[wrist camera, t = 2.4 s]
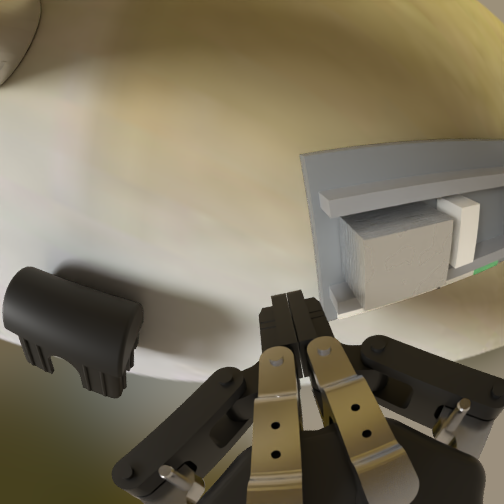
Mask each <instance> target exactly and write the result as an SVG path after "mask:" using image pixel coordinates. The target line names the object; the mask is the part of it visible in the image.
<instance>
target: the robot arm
mask: <svg viewBox="0 0 504 504" xmlns="http://www.w3.org/2000/svg"><path fill="white" fill-rule="evenodd" d="M40 14H41V5H40V1H39V0H0V85H1V84H2V83H3V82H4V81H5V80H6V79H7V78H8V77H9V76H10V75H11V74H12V72H13V71H14V70H15V69H16V67H17V66H18V64H19V63H20V61H21V60H22V58H23V57H24V55H25V53H26V51H27V49H28V47H29V46H30V44H31V41H32V39H33V37H34V35H35V32H36V29H37V26H38V23H39V19H40ZM287 298H288V301H287ZM271 299H272V305H273V306H271V307H266V308H262V310H261V312H260V314H259V323H260V334H261V345H262V355H261V356H260V359H259V361H258V362H257V363H256V364H255V365H254V366H252V367H250V368H248V369H245V370H243V371H240V370H239V369H237V368H235V367H225V368H221V369H219V370H217V371H216V372H214V373H213V374H212V375H211V376H210V377H209V378H208V379H207V380H206V381H205V382H204V383H203V384H202V385H201V386H200V387H199V388H198V389H197V390H196V391H195V392H194V393H193V394H192V395H191V396H190V397H189V398H188V399H187V400H186V401H185V402H184V403H183V404H182V405H181V406H180V407H179V408H177V410H175V411H174V412H173V413H172V414H171V415H170V416H169V417H168V418H167V419H166V420H165V421H164V422H163V423H161V424H160V425H159V426H158V427H157V428H156V429H155V430H154V431H153V432H151V433H150V434H149V435H148V436H147V437H146V438H145V439H144V440H143V441H142V442H140V443H139V444H138V445H137V446H136V447H135V448H133V449H132V450H131V451H130V452H129V453H128V454H126V455H125V456H124V457H123V458H122V459H121V460H119V461H118V462H117V463H116V464H115V466H114V467H113V470H112V479H113V481H114V483H115V484H116V485H117V486H118V487H120V488H121V489H123V490H125V491H127V492H128V493H130V494H131V495H133V496H135V497H136V498H138V499H140V500H141V501H142V502H143V503H144V504H483V494H484V488H485V482H486V479H485V478H486V476H485V471H484V468H483V466H482V464H481V463H480V461H479V460H478V459H479V457H480V454H481V452H482V450H483V448H484V445H485V443H486V440H487V438H488V435H489V433H490V430H491V428H492V425H493V422H494V420H495V419H496V418H497V416H498V415H499V414H500V413H501V411H502V410H503V409H504V379H502V378H499V377H496V376H493V375H490V374H487V373H484V372H481V371H478V370H476V369H472V368H470V367H467V366H464V365H461V364H459V363H456V362H453V361H450V360H448V359H445V358H442V357H439V356H437V355H434V354H431V353H429V352H426V351H423V350H421V349H418V348H415V347H413V346H410V345H407V344H405V343H402V342H399V341H397V340H394V339H392V338H389V337H387V336H383V335H374V336H371V337H369V338H367V339H366V340H365V341H364V342H363V343H362V345H345V344H342V343H340V342H339V341H338V340H337V339H336V338H335V337H334V335H333V333H332V330H331V328H330V325H329V323H328V320H327V318H326V316H325V313H324V311H323V308H322V306H321V303H320V302H319V301H318V300H316V299H315V298H314V297H312V298H308V299H304V297H303V294H302V291H301V290H297V291H293V292H288V293H287V297H286V293H284V294H279V295H274V296H271ZM288 304H289V305H288ZM300 360H301V361H300ZM301 364H302V368H301ZM302 369H303V373H304V377H308V376H309V377H310V381H311V388H312V392H313V395H314V398H315V401H316V404H317V407H318V410H319V413H320V416H321V419H322V422H323V426H324V428H322V429H320V430H315V431H304V430H303V418H302V407H301V397H300V389H301V386H300V380H299V378H303V374H302ZM378 404H379V405H381V406H383V407H385V408H387V409H389V410H391V411H393V412H395V413H398V414H400V415H402V416H404V417H406V418H408V419H411V420H413V421H415V422H417V423H420V424H422V425H424V426H427V427H429V428H431V429H432V433H433V436H434V438H435V439H433V438H431V437H429V436H427V435H425V434H423V433H421V432H419V431H417V430H415V429H413V428H411V427H409V426H407V425H405V424H403V423H401V422H399V421H397V420H394V419H391V418H386V417H384V415H383V413H382V411H381V409H380V407H379V405H378ZM252 423H253V437H252V438H253V439H252V446H250V447H249V448H247V449H246V450H244V451H243V452H242V453H241V454H240V455H239V456H238V457H237V458H236V459H235V460H234V461H233V462H232V464H231V465H230V466H229V468H227V470H226V471H225V472H224V473H223V474H222V475H221V477H220V478H219V479H218V480H217V481H216V482H215V483H214V485H213V486H212V487H211V488H210V489H209V490H208V491H207V492H206V493H205V494H204V495H203V496H202V498H201V499H200V500H199V498H200V497H201V495H202V494H203V492H204V490H205V483H204V480H203V478H204V477H205V475H206V474H207V473H208V472H209V471H210V470H211V469H212V468H213V467H214V466H215V465H216V464H217V463H218V462H219V461H220V460H221V459H222V458H223V457H224V456H225V454H226V453H227V452H228V451H229V450H230V449H231V448H232V447H233V445H234V444H235V443H236V442H237V441H238V440H239V439H240V438H241V436H242V435H243V434H244V433H245V432H246V431H247V429H248V428H249V427H250V426H251V424H252ZM198 500H199V501H198Z"/></svg>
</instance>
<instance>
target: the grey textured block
mask: <svg viewBox="0 0 504 504" xmlns="http://www.w3.org/2000/svg"><path fill="white" fill-rule="evenodd" d="M453 221H454V219H452V218H451V217H449V216H447V215H445V214H443V213H442V212H440V211H438V210H436V209H434V208H433V207H431V206H429V205H427V204H425V203H423V202H421V201H417V202H412V203H407V204H402V205H396V206H391V207H386V208H381V209H376V210H371V211H366V212H361V213H356V214H351V215H346V216H341V217H338V222H339V233H340V244H341V258H342V274H343V277H344V279H345V281H346V282H347V284H348V285H349V287H350V289H351V290H352V292H353V293H354V295H355V297H356V298H357V300H358V301H359V303H360V305H361V306H362V308H363V310H364V311H367V310H371V309H374V308H378V307H381V306H384V305H387V304H391V303H394V302H397V301H400V300H403V299H406V298H409V297H412V296H415V295H418V294H421V293H424V292H427V291H429V290H432V289H435V288H438V287H441V286H443V285H445V284H446V279H447V273H448V267H449V260H450V252H451V243H452V233H453Z"/></svg>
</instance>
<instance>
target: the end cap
mask: <svg viewBox="0 0 504 504" xmlns="http://www.w3.org/2000/svg"><path fill="white" fill-rule="evenodd" d="M2 313H3V322H4V327H5V328H6V329H7V330H9V331H11V332H13V333H15V334H16V335H18V336H19V339H20V342H21V345H22V348H23V351H24V354H25V357H26V359H27V361H28V362H29V363H31V364H32V365H35V366H37V367H39V368H41V369H43V370H44V371H45V372H49V373H51V374H52V373H53V372H54V368H53V364H52V361H51V358H50V356H58V357H61V358H63V359H65V360H66V361H68V362H69V363H70V364H72V365H73V366H74V367H75V368H76V369H77V371H78V372H79V374H80V377H81V381H82V385H83V388H86V389H88V390H89V391H94V392H97V393H99V394H102V395H103V396H108V397H111V398H119V397H120V396H121V394H122V392H123V389H125V388H126V387H127V386H126V370H127V371H130V368H132V367H133V366H134V349H136V347H137V345H138V337H139V331H140V328H141V326H142V323H143V307H142V305H141V304H139V303H136V302H133V301H130V300H126V299H123V298H120V297H117V296H113V295H110V294H107V293H104V292H101V291H98V290H95V289H92V288H89V287H86V286H83V285H80V284H77V283H74V282H71V281H69V280H66V279H63V278H60V277H58V276H55V275H52V274H50V273H47V272H45V271H42V270H39V269H37V268H34V267H25V268H23V269H21V270H20V271H18V272H17V274H16V275H15V276H14V277H13V279H12V280H11V282H10V283H9V286H8V288H7V290H6V293H5V297H4V302H3V312H2Z"/></svg>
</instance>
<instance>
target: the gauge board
mask: <svg viewBox="0 0 504 504" xmlns="http://www.w3.org/2000/svg"><path fill="white" fill-rule="evenodd" d="M300 160H301V166H302V171H303V177H304V183H305V189H306V195H307V202H308V208H309V215H310V222H311V229H312V236H313V244H314V251H315V260H316V268H317V277H318V286H319V296H320V303H321V306H322V308H323V311H324V313H325V316H326V318H327V320H328V321H332V320H336V319H338V320H339V319H343V318H346V317H350V316H354V315H357V314H361V313H364V312H368V311H371V310H375V309H378V308H381V307H384V306H388V305H391V304H394V303H397V302H400V301H403V300H406V299H409V298H412V297H415V296H418V295H421V294H424V293H427V292H430V291H432V290H435V289H439V288H441V287H443V286H446V285H449V284H451V283H454V282H456V281H459V280H461V279H464V278H466V277H469V276H471V275H475V274H477V273H479V272H482V271H484V270H486V269H489V268H491V267H493V266H495V265H497V263H500V262H502V261H504V140H500V139H439V140H418V141H404V142H391V143H381V144H371V145H362V146H354V147H346V148H339V149H331V150H325V151H318V152H312V153H306V154H300ZM455 194H460V195H462V196H464V197H467V198H469V199H471V200H473V201H475V202H477V203H479V204H480V211H479V222H478V231H477V239H476V246H475V253H474V259H473V262H472V263H469V264H466V265H464V266H461V267H458V268H454V267H453V266H451V265H450V264H449V267H448V273H447V279H446V284H445V285H443V286H441V287H438V288H435V289H432V290H429V291H427V292H424V293H421V294H418V295H415V296H412V297H409V298H406V299H403V300H400V301H397V302H394V303H391V304H387V305H384V306H381V307H378V308H374V309H371V310H367V311H364V310H363V308H362V306H361V305H360V303H359V301H358V300H357V298H356V297H355V295H354V293H353V292H352V290H351V289H350V287H349V285H348V284H347V282H346V281H345V279H344V277H343V274H342V258H341V244H340V233H339V222H338V217H341V216H346V215H351V214H356V213H361V212H366V211H371V210H376V209H381V208H386V207H391V206H396V205H402V204H407V203H412V202H417V201H421V202H423V203H425V204H427V205H429V206H431V207H433V208H434V209H436V210H437V198H439V197H444V196H450V195H455Z"/></svg>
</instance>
